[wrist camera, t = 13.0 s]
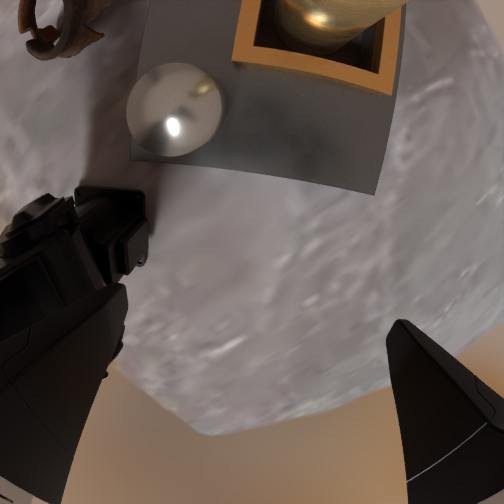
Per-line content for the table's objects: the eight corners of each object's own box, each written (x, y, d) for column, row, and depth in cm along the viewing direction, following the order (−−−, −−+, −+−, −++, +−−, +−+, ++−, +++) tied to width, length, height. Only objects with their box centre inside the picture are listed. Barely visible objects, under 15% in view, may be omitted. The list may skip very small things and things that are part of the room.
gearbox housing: (144, 154, 19) (108, 170, 14) (175, -38, 11) (152, -70, 6) (362, 185, 19) (392, 211, 15) (392, -5, 12) (426, -29, 7)
